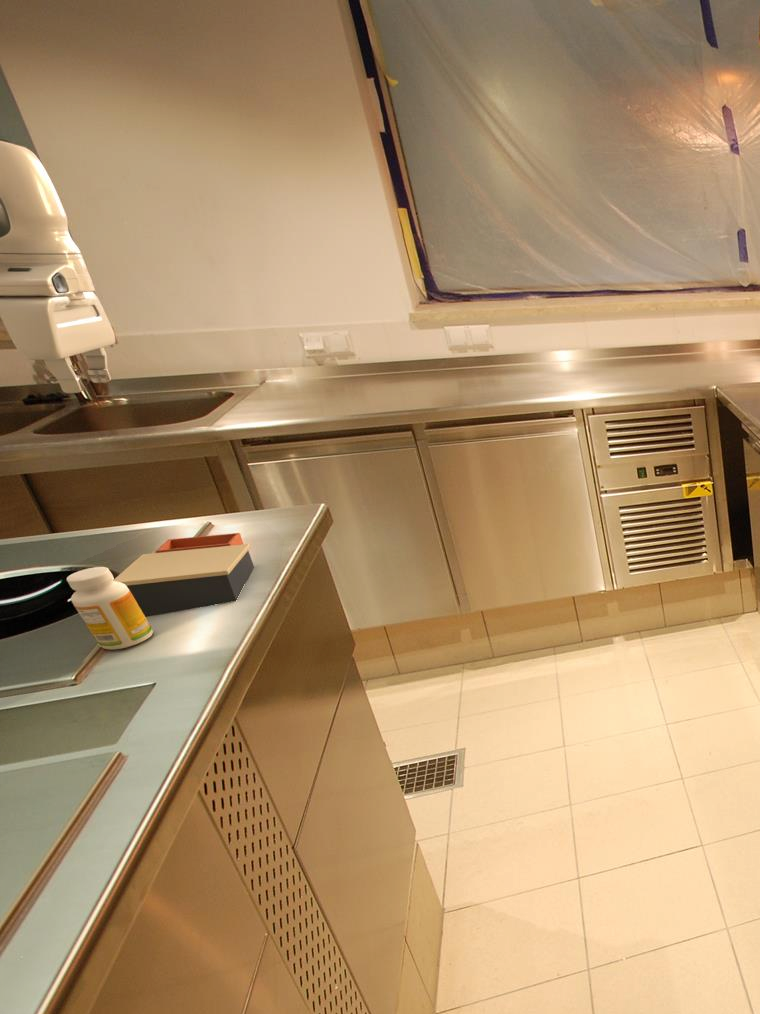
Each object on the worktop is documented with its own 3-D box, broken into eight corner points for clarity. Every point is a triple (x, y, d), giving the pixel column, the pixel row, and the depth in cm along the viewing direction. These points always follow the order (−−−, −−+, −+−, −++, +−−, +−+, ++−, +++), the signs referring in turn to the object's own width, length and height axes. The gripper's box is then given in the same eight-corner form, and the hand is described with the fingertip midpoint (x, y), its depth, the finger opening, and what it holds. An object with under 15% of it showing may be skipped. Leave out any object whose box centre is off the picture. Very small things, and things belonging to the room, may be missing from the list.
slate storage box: (127, 624, 114) (109, 583, 112) (157, 592, 124) (142, 554, 122) (241, 610, 119) (227, 570, 117) (262, 580, 130) (249, 543, 127)
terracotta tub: (167, 581, 128) (155, 551, 126) (180, 569, 133) (168, 539, 131) (240, 573, 132) (229, 543, 130) (250, 561, 137) (239, 532, 135)
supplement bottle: (152, 624, 113) (113, 560, 108) (156, 639, 109) (117, 573, 104) (99, 639, 110) (57, 573, 104) (102, 655, 106) (59, 587, 101)
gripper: (47, 274, 116) (89, 377, 122) (-29, 281, 100) (24, 399, 106) (106, 275, 119) (144, 375, 125) (42, 281, 102) (89, 397, 108)
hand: (88, 387), depth 115 cm, fingers open, 8 cm apart
